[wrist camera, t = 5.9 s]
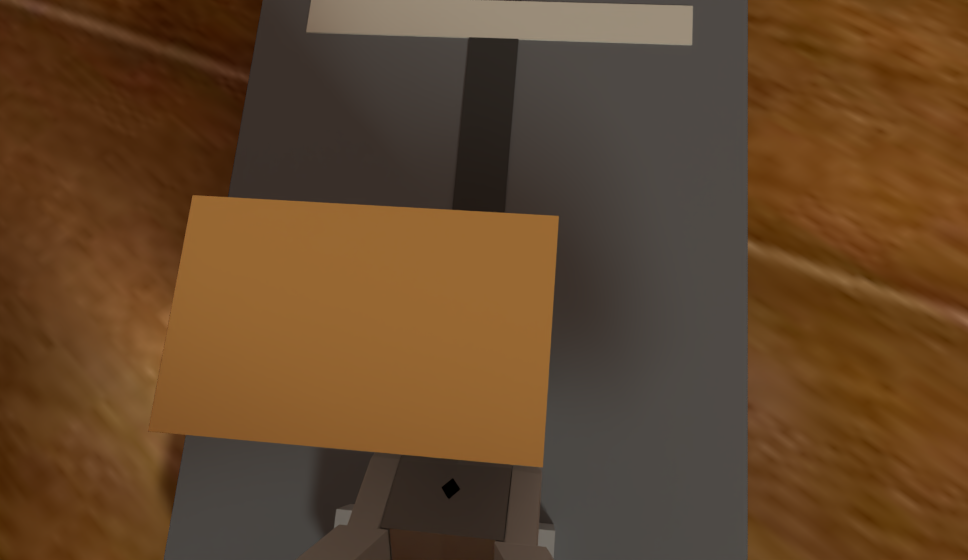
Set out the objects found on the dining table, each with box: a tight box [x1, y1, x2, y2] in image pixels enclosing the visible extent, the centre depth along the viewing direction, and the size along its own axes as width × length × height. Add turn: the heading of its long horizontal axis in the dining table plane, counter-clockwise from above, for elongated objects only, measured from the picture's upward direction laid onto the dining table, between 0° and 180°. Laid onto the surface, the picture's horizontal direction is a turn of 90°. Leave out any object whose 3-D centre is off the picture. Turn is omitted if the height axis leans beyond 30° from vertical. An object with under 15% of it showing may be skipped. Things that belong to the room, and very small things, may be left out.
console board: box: [164, 0, 748, 560], centre depth 19 cm, size 14×22×3 cm, turn 176°
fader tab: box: [148, 195, 559, 467], centre depth 12 cm, size 4×3×10 cm, turn 86°
